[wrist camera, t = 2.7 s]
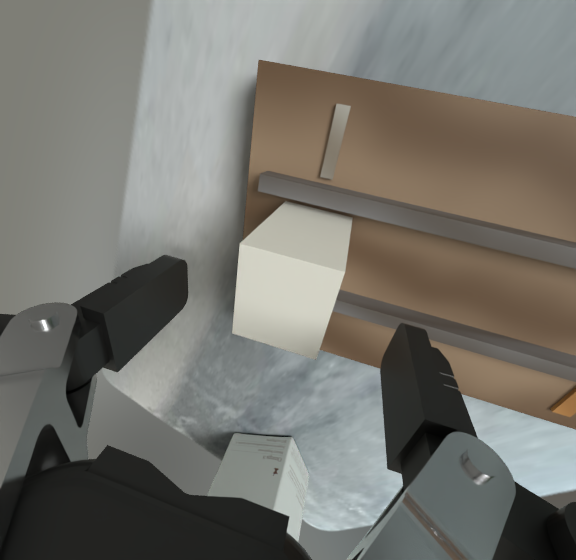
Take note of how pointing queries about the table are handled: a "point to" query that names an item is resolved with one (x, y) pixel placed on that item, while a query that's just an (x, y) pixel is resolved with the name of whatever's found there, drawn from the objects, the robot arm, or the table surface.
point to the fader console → (434, 224)
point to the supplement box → (265, 475)
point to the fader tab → (291, 277)
